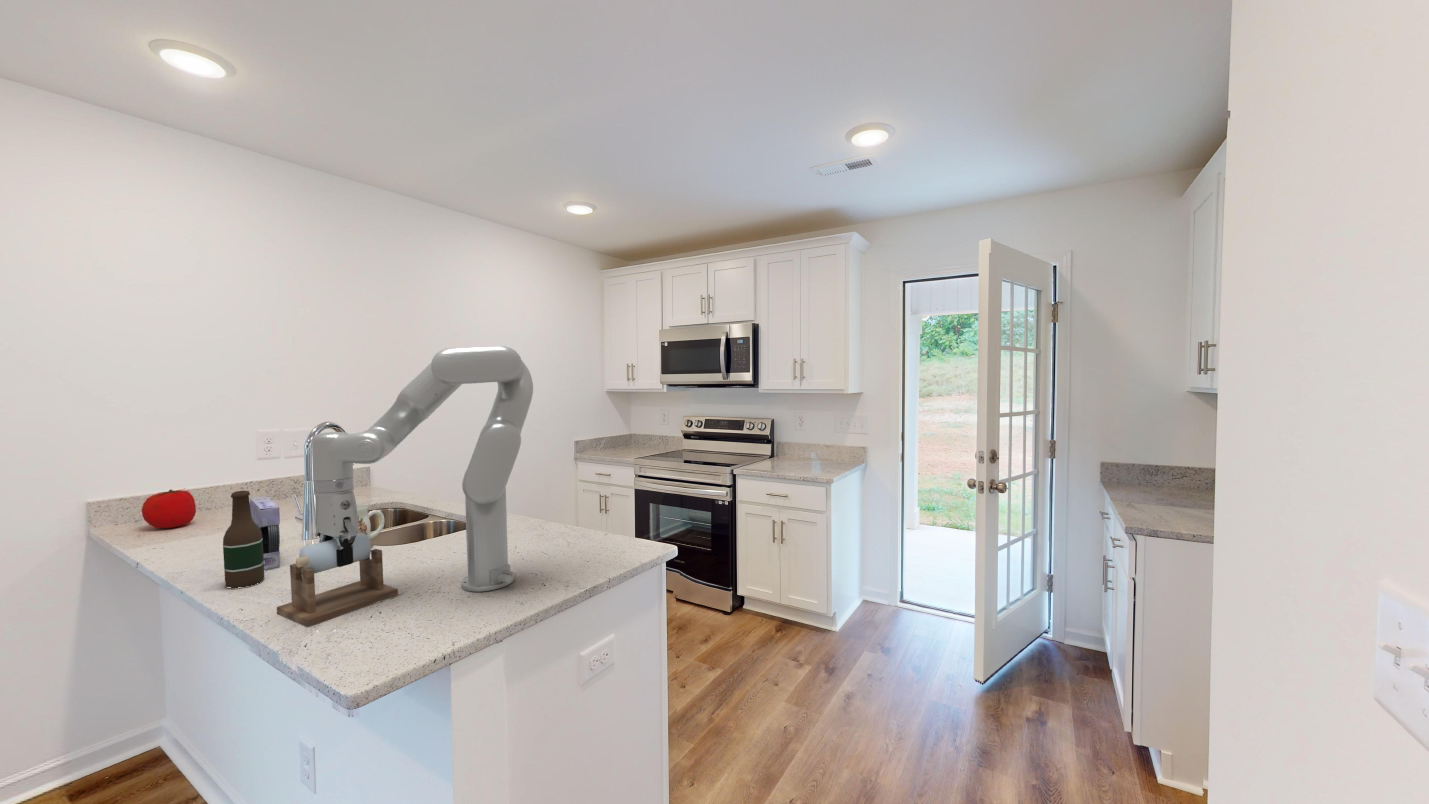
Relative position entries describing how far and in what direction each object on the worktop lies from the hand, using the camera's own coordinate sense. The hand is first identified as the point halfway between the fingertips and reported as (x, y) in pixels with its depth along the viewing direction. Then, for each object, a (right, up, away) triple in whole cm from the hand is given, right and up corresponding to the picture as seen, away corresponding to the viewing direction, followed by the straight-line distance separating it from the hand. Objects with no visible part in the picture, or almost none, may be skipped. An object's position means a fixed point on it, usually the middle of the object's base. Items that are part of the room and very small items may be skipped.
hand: (337, 561), depth 125 cm
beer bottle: (-33, -10, +14) cm, 38 cm away
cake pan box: (-42, -9, +30) cm, 52 cm away
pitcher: (-23, -9, +40) cm, 47 cm away
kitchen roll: (0, -1, 0) cm, 1 cm away
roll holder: (0, -10, 0) cm, 10 cm away
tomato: (-110, -8, +70) cm, 130 cm away
